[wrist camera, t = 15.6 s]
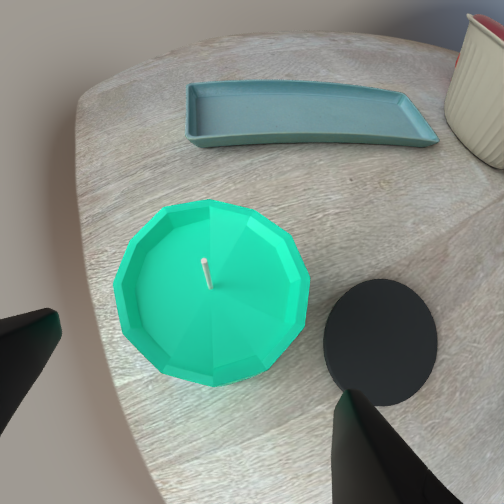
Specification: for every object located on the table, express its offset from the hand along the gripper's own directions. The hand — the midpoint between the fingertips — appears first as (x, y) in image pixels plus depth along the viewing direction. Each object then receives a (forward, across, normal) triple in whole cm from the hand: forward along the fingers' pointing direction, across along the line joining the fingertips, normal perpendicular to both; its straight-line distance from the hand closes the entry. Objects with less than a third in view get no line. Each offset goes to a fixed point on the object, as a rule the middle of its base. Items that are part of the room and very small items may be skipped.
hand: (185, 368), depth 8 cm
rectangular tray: (+25, -4, -10) cm, 27 cm away
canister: (+31, -28, -16) cm, 45 cm away
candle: (+9, 0, +6) cm, 11 cm away
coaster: (+10, -11, +4) cm, 15 cm away
